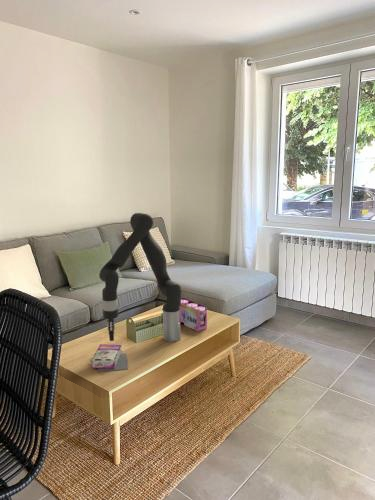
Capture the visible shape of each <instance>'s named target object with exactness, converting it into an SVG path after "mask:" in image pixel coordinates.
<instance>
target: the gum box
mask: <svg viewBox="0 0 375 500" xmlns="http://www.w3.org/2000/svg"><path fill="white" fill-rule="evenodd" d="M179 322H180V324H181V322H183V323H184V325H183V326H186V327H187V328H189V329H191V328H192V330H193V329H194V330H193V331H195V332H200V331H203V329H204V330H206V328H207V329H208V308H207V306H205V305H204V304H200V303H198V302H195V301H192V300H190V299H188V298H186V297H181V304H180V307H179Z"/></svg>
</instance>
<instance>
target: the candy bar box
mask: <svg viewBox="0 0 375 500" xmlns="http://www.w3.org/2000/svg"><path fill="white" fill-rule="evenodd" d="M121 354H122V344H99V346H98V348H97V350H96V352H95V353H94V355H93V357H92V359H91V369H98V368H110V369H115V367H116V364H117V362H118V360H119V357H120V355H121Z"/></svg>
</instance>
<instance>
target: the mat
mask: <svg viewBox="0 0 375 500" xmlns="http://www.w3.org/2000/svg"><path fill="white" fill-rule="evenodd" d="M123 370H125V371H126V370H129V366H128V357H127V352H126V353H125V352H123V353H121V355H120V357H119V360H118V362H117V364H116V367H115V369H110V368H97V372H98V373H105V372H113V371H123Z"/></svg>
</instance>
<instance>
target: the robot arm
mask: <svg viewBox="0 0 375 500" xmlns="http://www.w3.org/2000/svg"><path fill="white" fill-rule="evenodd" d="M129 223H130V226H131V228H132V230H133V231H132V232H131V234H130V235H129V236H128V237H127V239H125V240H124V241H123V242H122V243H121V244H120V245H119V246H118V247H117V249H116V250H115V252H114V253H113V255H112V256H111V258H110V260H108V261H107V262H106V263H105V265H103V267H102V268H101V269H100V271H99V273H98V274H99V275H98V276H99V279H100V280H101V281H102V282H104V283H105V286H104V288H103V289H102V294H101V296H102V306H101V307H102V317H103V319H106V325H107V331H108V335H109V341H110V342H112V341H113V342H114V341H115V328H116V326H115V325H116V319H117V318H118V317H119V305H118V304H119V302H118V291H117V290H118V287H119V281H120V279H119V273H118V272H117V270H118V269H121V268H123V267H124V265H125V264H126V262H128V260H129V258H130V256H131V255H132V253H133V252H134V250H135V249H136V247H137V246H138V245H139V244H140V245H141V249H142V251H143V252H144V255H145V257H146V260H147V262H148V264H149V266H150V268H151V270H152V273H153V275H154V277H155V279H156V283H157V285H158V288H159V291H160V294H161V295H162V296H164V297H166V302H165V303H164V304H162V332H163V335H162V336H163V337H162V338H163V341H165V342H170V343H172V342H178V341H181V323H180V322H179V307H180V304H181V298H182V287H181V285H180V284H178V283H177V282H176V281H175V282H174V281H173V280H172V279H171V278H170V276H169V274H168V271H167V258H166V256H165V254H164V251H163V249H162V247H161V246H160V245H159V243H158V241H156V239H155V238H154V237H153V235H152V234H151V232H150V230H151V229H152V228H153V226H154V219H153V217H152V215H150V214H148V213H144V212H143V213H141V212H135V213H133V214H132V215H131V217H130V220H129Z"/></svg>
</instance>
